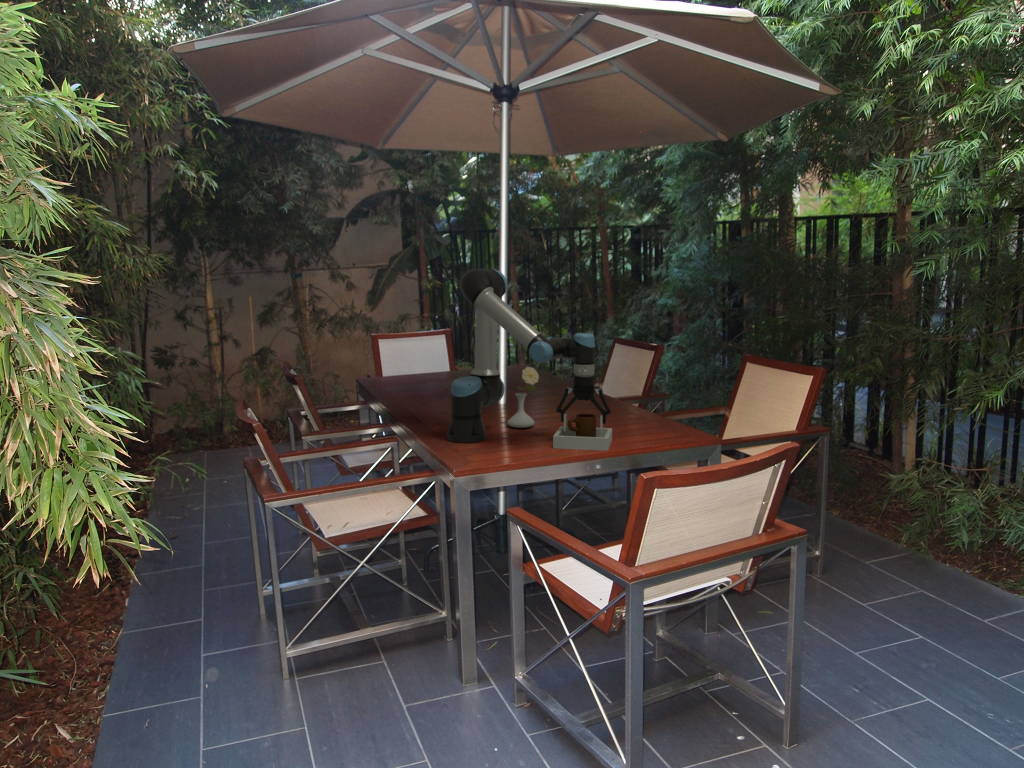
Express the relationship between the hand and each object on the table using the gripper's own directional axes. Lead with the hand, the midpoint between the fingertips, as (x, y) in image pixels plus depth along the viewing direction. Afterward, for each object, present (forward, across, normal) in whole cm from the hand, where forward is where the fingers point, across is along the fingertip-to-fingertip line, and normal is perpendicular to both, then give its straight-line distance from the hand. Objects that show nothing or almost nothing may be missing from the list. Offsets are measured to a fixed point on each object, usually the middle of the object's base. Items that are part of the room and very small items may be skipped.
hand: (583, 431), depth 300 cm
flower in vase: (+5, -28, +26) cm, 38 cm away
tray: (+5, 0, 0) cm, 5 cm away
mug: (+4, -1, 0) cm, 4 cm away
